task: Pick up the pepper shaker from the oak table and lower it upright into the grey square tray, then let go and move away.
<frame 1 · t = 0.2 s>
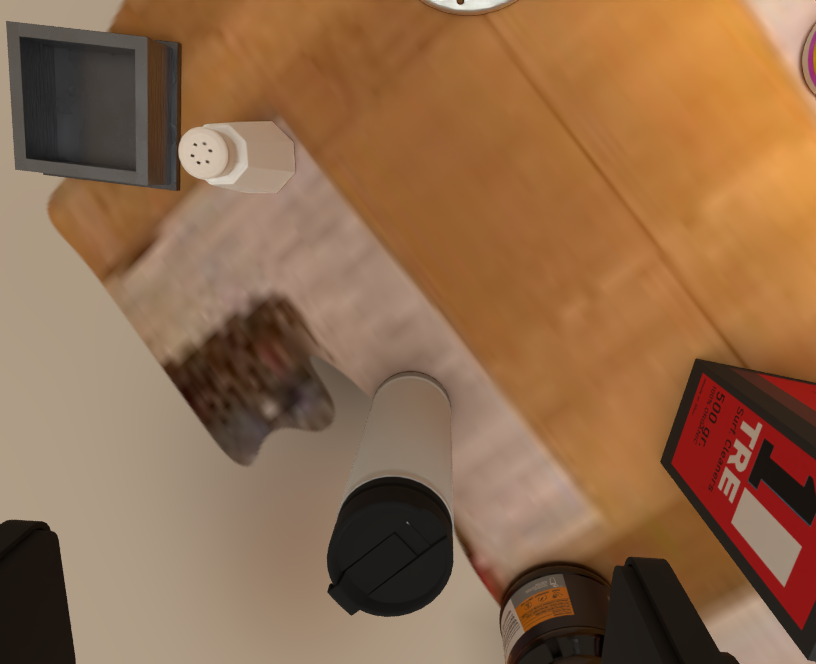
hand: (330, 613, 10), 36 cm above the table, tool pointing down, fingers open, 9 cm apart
grey square tray: (112, 111, 43), on the table
cleaning product box: (780, 431, 46), on the table
pepper shaker: (261, 158, 43), on the table
travel mug: (410, 408, 48), on the table
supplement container: (558, 609, 52), on the table
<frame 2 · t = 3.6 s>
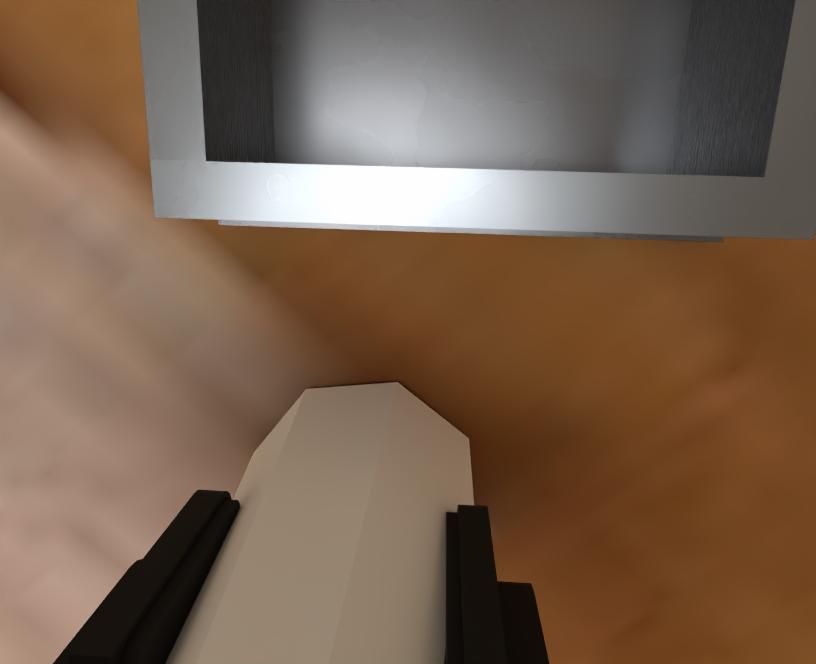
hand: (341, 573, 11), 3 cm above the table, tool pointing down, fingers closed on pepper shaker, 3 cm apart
pepper shaker: (366, 478, 14), on the table, touching gripper
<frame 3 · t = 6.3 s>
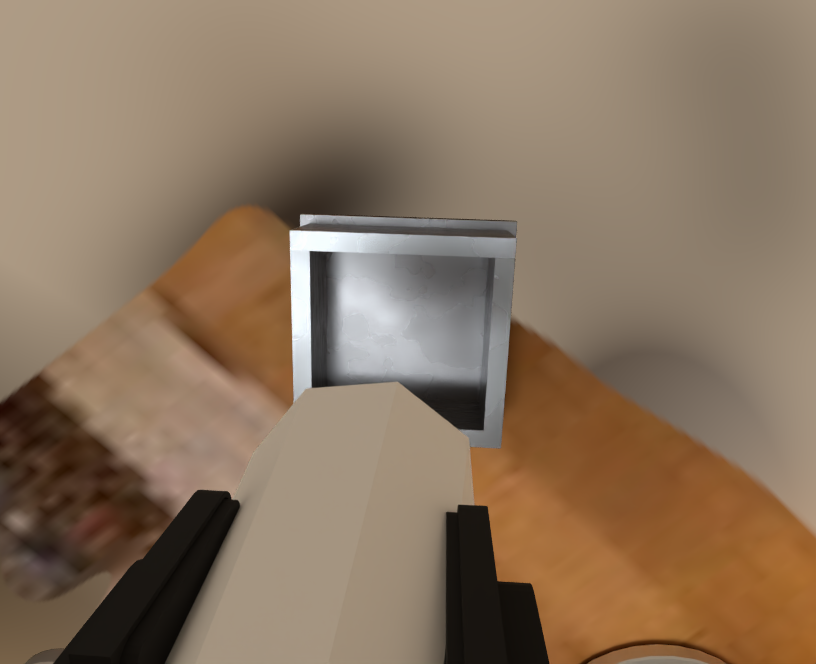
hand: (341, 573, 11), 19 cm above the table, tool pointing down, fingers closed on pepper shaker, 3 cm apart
grey square tray: (405, 320, 29), on the table
pepper shaker: (366, 478, 14), point 15 cm above the table, touching gripper
when the fingers open (5 cm above the table, at t = 9.1 s): pepper shaker drops 1 cm, resting on grey square tray.
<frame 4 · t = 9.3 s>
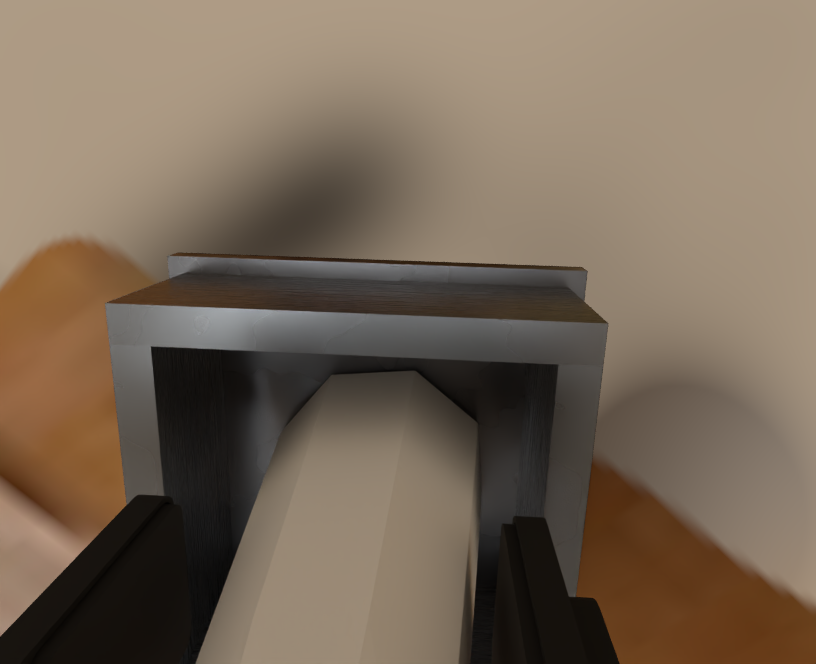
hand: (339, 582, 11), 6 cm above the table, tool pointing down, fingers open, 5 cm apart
grey square tray: (373, 445, 16), on the table
pepper shaker: (383, 458, 16), resting on grey square tray
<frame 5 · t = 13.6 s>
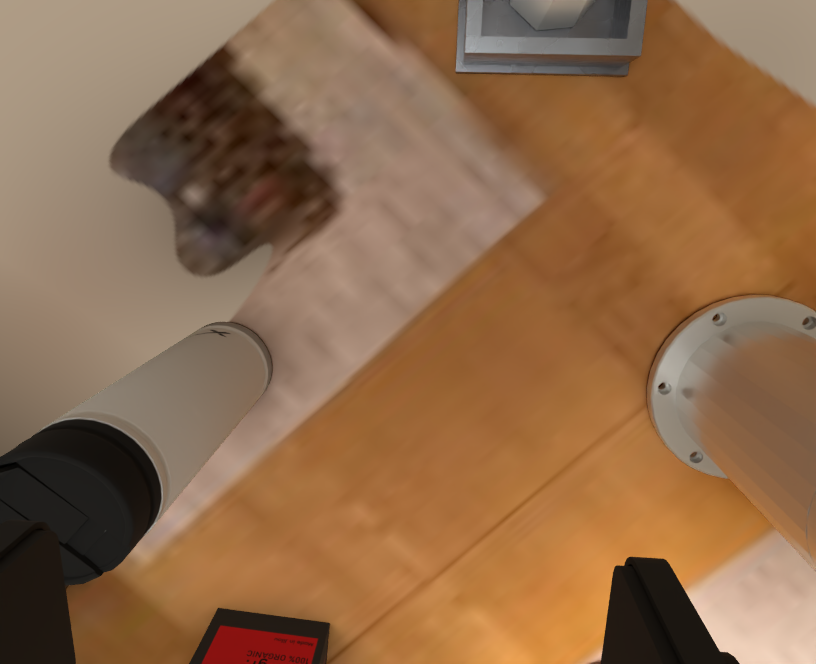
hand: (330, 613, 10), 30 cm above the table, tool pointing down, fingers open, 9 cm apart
travel mug: (227, 361, 41), on the table
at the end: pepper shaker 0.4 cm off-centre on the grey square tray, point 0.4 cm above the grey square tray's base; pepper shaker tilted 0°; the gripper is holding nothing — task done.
